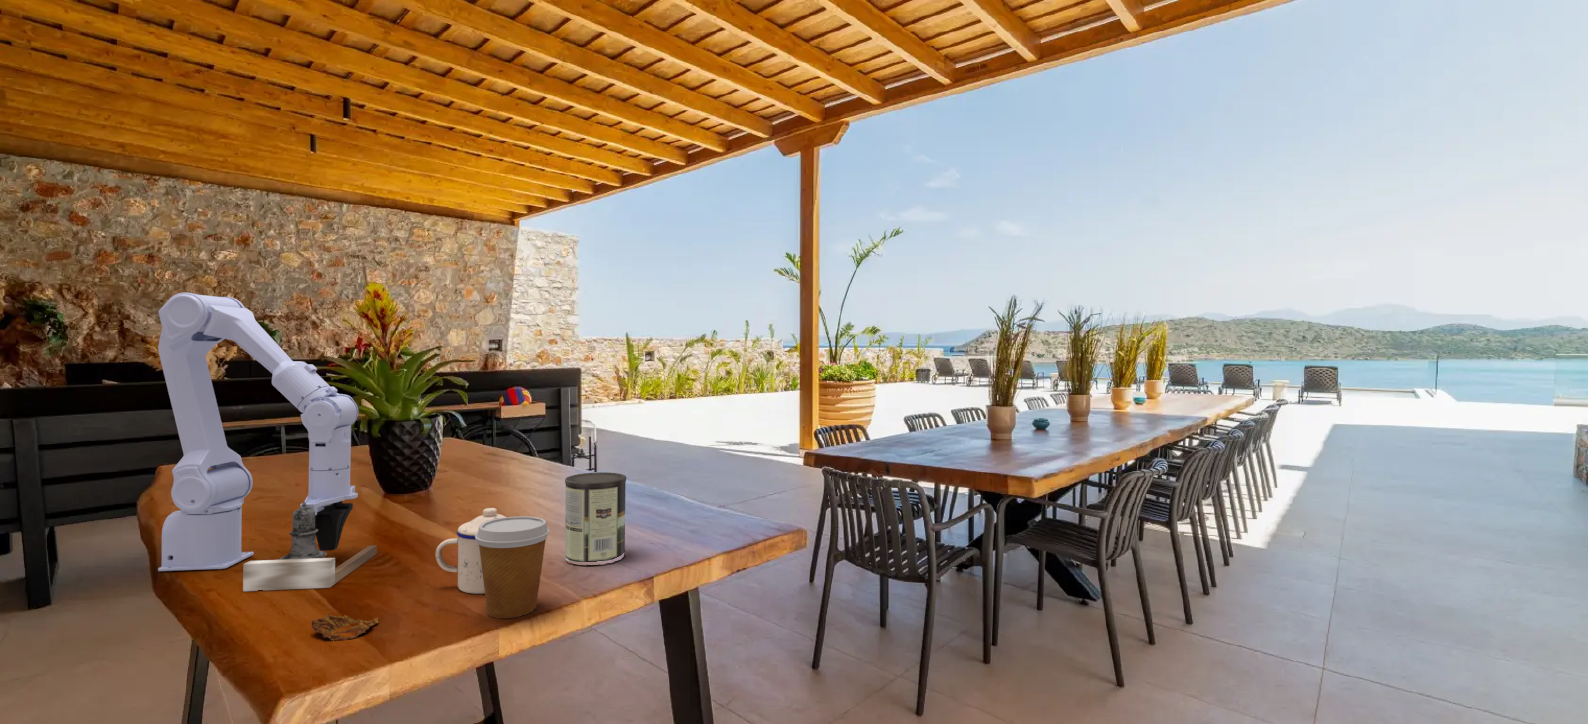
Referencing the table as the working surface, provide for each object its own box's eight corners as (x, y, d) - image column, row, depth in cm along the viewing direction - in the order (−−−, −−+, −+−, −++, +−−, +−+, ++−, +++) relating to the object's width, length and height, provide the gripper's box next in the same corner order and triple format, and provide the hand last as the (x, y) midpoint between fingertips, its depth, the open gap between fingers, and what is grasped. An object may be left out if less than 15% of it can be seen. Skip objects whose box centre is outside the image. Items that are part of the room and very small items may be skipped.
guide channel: (243, 591, 99) (243, 564, 99) (303, 556, 116) (303, 533, 115) (329, 587, 101) (330, 561, 101) (376, 554, 118) (376, 531, 118)
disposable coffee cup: (555, 615, 92) (556, 527, 92) (479, 629, 87) (480, 536, 87) (540, 593, 100) (541, 512, 100) (469, 605, 95) (470, 520, 95)
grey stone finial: (335, 574, 107) (336, 498, 107) (305, 586, 101) (306, 507, 101) (301, 572, 108) (302, 497, 108) (269, 584, 102) (270, 505, 102)
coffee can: (597, 545, 125) (598, 470, 125) (637, 555, 120) (638, 476, 120) (551, 559, 117) (552, 478, 116) (591, 570, 111) (593, 485, 111)
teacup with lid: (524, 573, 109) (525, 501, 109) (516, 592, 100) (517, 514, 100) (443, 578, 106) (443, 504, 106) (427, 599, 97) (428, 518, 97)
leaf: (351, 646, 83) (354, 632, 83) (299, 637, 83) (302, 623, 83) (387, 630, 89) (389, 617, 89) (338, 621, 90) (340, 609, 90)
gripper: (336, 475, 106) (334, 561, 106) (374, 460, 120) (373, 536, 121) (285, 476, 105) (284, 563, 105) (330, 461, 119) (329, 538, 119)
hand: (328, 549), depth 113 cm, fingers closed
